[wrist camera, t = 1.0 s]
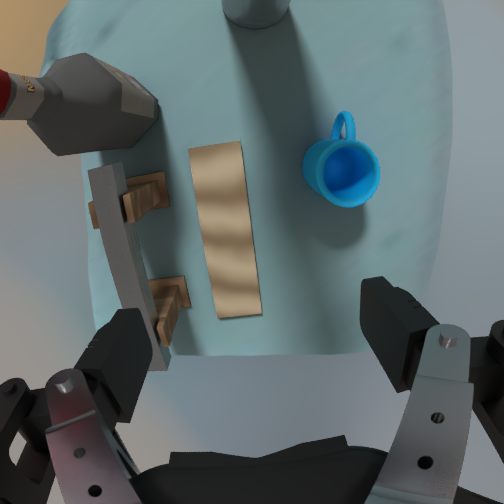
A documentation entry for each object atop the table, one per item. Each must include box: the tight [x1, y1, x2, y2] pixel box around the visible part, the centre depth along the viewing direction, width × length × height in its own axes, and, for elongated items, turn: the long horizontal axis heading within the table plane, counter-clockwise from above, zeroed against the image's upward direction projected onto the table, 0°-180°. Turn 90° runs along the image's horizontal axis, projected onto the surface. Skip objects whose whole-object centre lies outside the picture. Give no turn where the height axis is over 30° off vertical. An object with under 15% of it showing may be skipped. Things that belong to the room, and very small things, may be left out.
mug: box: [302, 111, 380, 207], centre depth 37 cm, size 12×8×8 cm
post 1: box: [88, 171, 170, 229], centre depth 36 cm, size 5×7×12 cm
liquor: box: [0, 53, 158, 156], centre depth 23 cm, size 9×9×30 cm
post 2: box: [148, 276, 191, 347], centre depth 41 cm, size 5×7×12 cm
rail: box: [88, 162, 171, 371], centre depth 34 cm, size 26×3×3 cm, turn 7°
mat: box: [188, 141, 262, 318], centre depth 44 cm, size 26×7×1 cm, turn 7°
